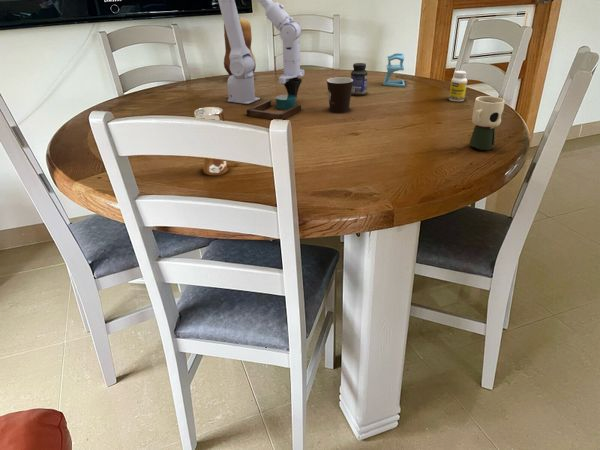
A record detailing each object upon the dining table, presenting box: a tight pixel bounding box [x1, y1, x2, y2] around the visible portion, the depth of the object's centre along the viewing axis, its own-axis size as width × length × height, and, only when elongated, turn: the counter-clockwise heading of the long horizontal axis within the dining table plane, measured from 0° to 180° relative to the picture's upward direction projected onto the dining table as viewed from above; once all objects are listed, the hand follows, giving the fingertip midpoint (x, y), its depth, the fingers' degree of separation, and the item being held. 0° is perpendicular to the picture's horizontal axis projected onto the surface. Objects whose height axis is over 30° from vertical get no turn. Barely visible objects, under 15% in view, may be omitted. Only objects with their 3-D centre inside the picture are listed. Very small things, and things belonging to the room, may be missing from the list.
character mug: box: [468, 95, 506, 151], centre depth 120 cm, size 11×7×13 cm, turn 130°
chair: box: [382, 52, 406, 88], centre depth 184 cm, size 8×8×12 cm
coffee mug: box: [326, 76, 353, 114], centre depth 156 cm, size 12×9×10 cm
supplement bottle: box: [448, 70, 468, 103], centre depth 163 cm, size 5×5×10 cm
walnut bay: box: [246, 99, 302, 121], centre depth 155 cm, size 13×13×2 cm
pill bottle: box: [350, 62, 368, 97], centre depth 172 cm, size 6×6×11 cm
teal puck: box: [275, 94, 297, 111], centre depth 161 cm, size 7×7×4 cm
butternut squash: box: [223, 16, 257, 77], centre depth 194 cm, size 14×13×25 cm
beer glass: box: [193, 106, 229, 176], centre depth 110 cm, size 7×7×15 cm
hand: (292, 99), depth 165 cm, fingers closed
